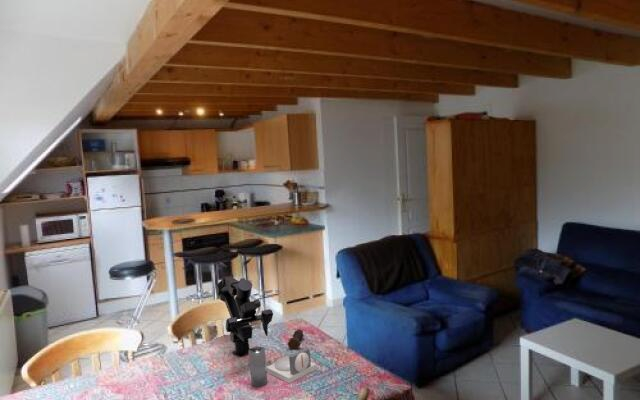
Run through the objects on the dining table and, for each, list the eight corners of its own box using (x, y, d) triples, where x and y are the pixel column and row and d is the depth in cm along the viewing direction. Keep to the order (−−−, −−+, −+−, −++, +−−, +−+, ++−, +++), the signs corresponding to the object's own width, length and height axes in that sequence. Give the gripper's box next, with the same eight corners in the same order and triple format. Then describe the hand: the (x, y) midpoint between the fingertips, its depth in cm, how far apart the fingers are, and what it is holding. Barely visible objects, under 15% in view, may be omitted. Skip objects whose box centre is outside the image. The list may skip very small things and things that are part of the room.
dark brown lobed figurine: (302, 339, 201) (296, 353, 187) (292, 334, 202) (285, 347, 187) (307, 329, 201) (301, 341, 186) (297, 324, 201) (291, 336, 186)
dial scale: (266, 372, 168) (264, 350, 168) (293, 358, 178) (291, 338, 177) (289, 383, 158) (287, 360, 157) (316, 369, 168) (315, 347, 167)
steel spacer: (248, 384, 160) (245, 350, 159) (261, 377, 164) (258, 345, 163) (257, 389, 156) (254, 354, 155) (270, 382, 160) (267, 349, 159)
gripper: (223, 298, 167) (233, 331, 157) (268, 289, 175) (281, 320, 165) (221, 315, 174) (231, 348, 164) (265, 305, 182) (277, 336, 172)
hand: (255, 338), depth 166 cm, fingers open, 9 cm apart
